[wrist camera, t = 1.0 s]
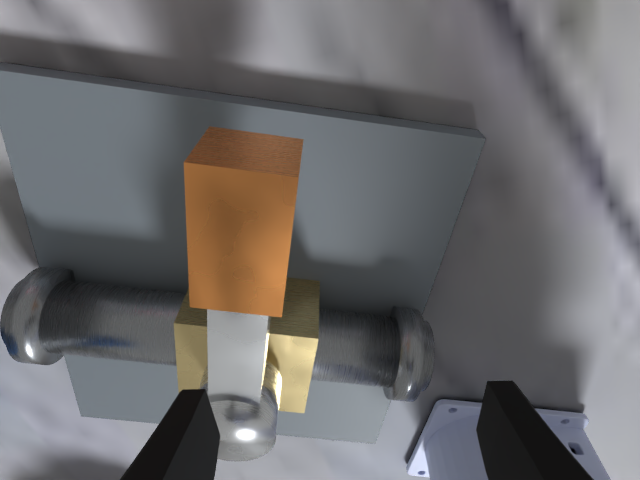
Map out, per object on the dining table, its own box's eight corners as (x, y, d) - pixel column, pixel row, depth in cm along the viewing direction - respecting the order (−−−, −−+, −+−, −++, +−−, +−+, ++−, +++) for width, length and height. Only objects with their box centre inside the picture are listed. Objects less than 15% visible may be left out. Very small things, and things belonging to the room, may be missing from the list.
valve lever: (278, 407, 18) (272, 464, 16) (203, 400, 18) (187, 457, 16) (314, 140, 12) (311, 178, 10) (198, 124, 12) (170, 160, 10)
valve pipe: (427, 286, 20) (448, 354, 17) (403, 355, 23) (416, 426, 20) (40, 241, 19) (-24, 303, 16) (60, 318, 22) (9, 386, 18)
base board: (478, 129, 17) (485, 139, 16) (373, 429, 28) (375, 444, 27) (2, 62, 16) (-17, 68, 15) (88, 401, 27) (81, 416, 26)
